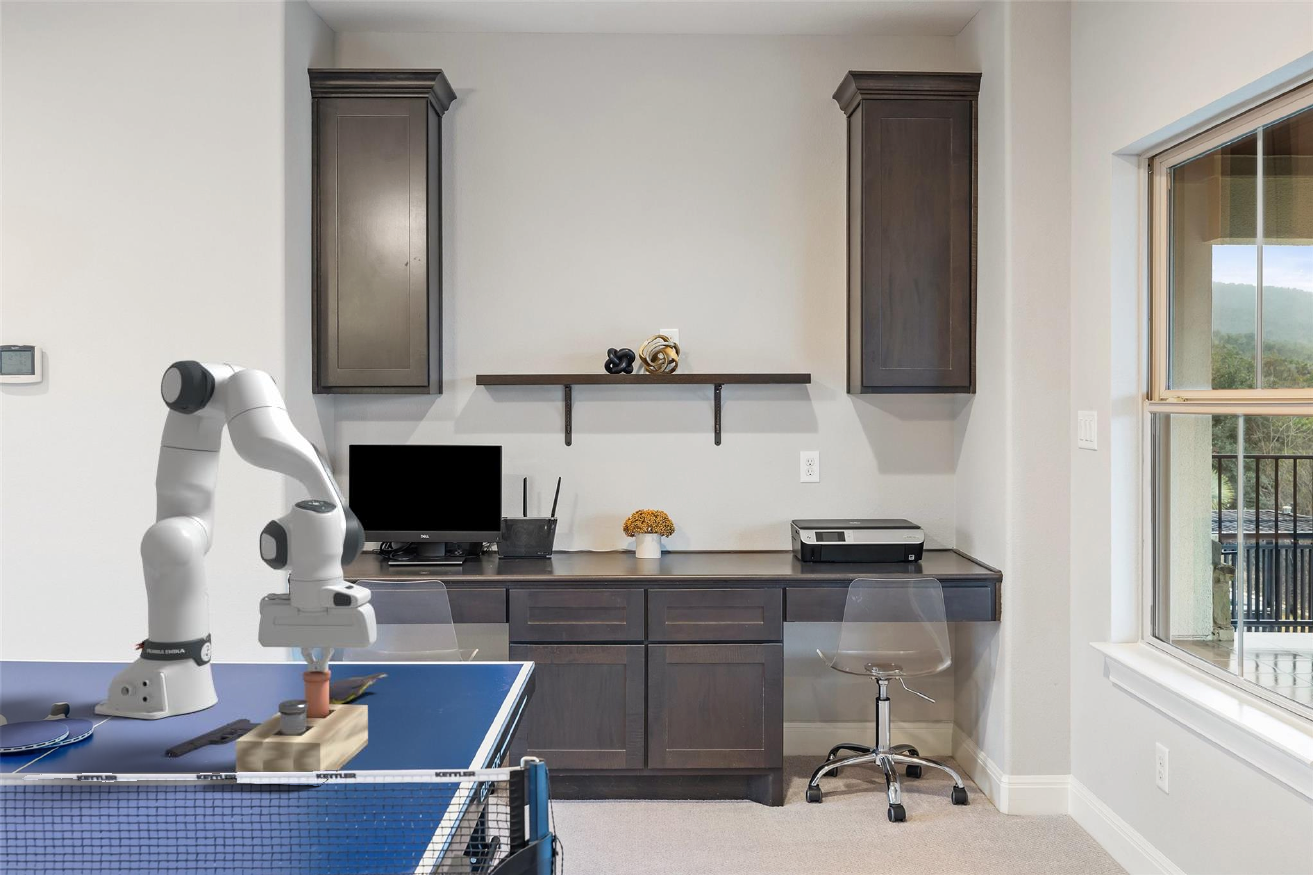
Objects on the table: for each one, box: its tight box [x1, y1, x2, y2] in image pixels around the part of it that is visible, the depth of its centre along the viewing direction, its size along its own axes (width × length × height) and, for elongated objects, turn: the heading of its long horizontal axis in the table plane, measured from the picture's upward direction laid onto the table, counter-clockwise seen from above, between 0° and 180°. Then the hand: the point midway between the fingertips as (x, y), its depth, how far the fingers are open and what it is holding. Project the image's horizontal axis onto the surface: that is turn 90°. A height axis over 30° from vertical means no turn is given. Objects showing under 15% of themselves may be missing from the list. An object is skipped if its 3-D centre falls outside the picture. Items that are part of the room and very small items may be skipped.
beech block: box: [235, 704, 369, 773], centre depth 161 cm, size 14×20×7 cm
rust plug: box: [302, 669, 332, 719], centre depth 166 cm, size 5×5×10 cm
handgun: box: [164, 718, 263, 758], centre depth 171 cm, size 18×2×12 cm
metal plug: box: [278, 699, 308, 736], centre depth 157 cm, size 5×5×10 cm
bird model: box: [329, 672, 389, 705], centre depth 196 cm, size 5×20×5 cm, turn 144°
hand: (318, 672), depth 166 cm, fingers closed
